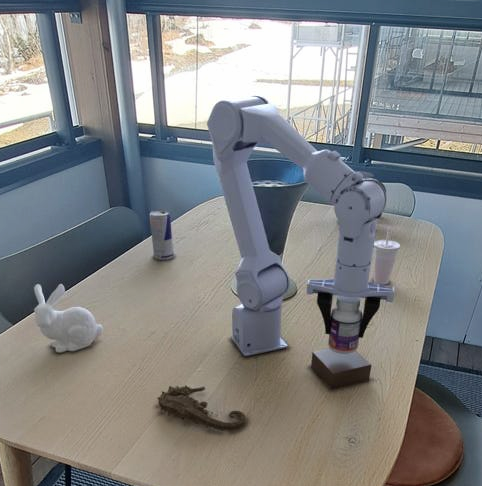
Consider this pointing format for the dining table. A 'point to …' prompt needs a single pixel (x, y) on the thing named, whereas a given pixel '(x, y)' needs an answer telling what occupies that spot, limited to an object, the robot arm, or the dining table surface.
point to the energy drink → (161, 234)
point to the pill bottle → (345, 325)
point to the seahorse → (194, 408)
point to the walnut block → (340, 368)
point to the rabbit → (65, 323)
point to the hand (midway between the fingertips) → (344, 333)
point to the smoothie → (384, 259)
